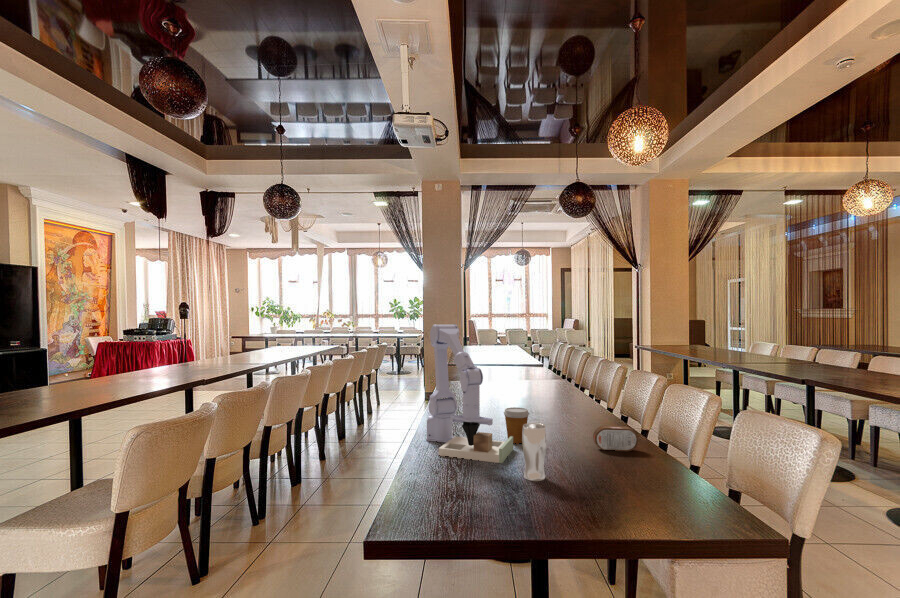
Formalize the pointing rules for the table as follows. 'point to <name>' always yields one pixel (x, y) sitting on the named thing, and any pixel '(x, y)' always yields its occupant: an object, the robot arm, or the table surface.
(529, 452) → the beer glass
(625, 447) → the tin
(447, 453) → the trap board
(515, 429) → the disposable coffee cup
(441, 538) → the table surface
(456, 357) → the robot arm
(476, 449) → the walnut block
